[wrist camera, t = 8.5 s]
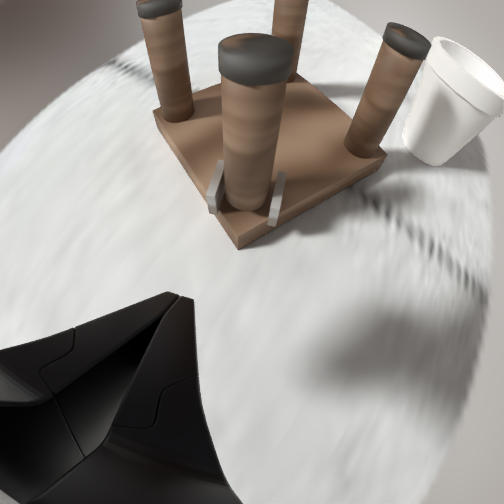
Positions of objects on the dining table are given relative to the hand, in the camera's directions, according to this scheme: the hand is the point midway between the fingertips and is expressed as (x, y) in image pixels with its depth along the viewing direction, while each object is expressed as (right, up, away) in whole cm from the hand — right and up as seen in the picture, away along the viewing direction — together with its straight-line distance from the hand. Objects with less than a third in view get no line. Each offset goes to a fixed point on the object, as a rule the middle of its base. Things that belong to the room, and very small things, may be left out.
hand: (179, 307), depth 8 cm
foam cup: (+22, +14, +20) cm, 33 cm away
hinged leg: (+2, +6, +12) cm, 13 cm away
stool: (+3, +12, +18) cm, 22 cm away
